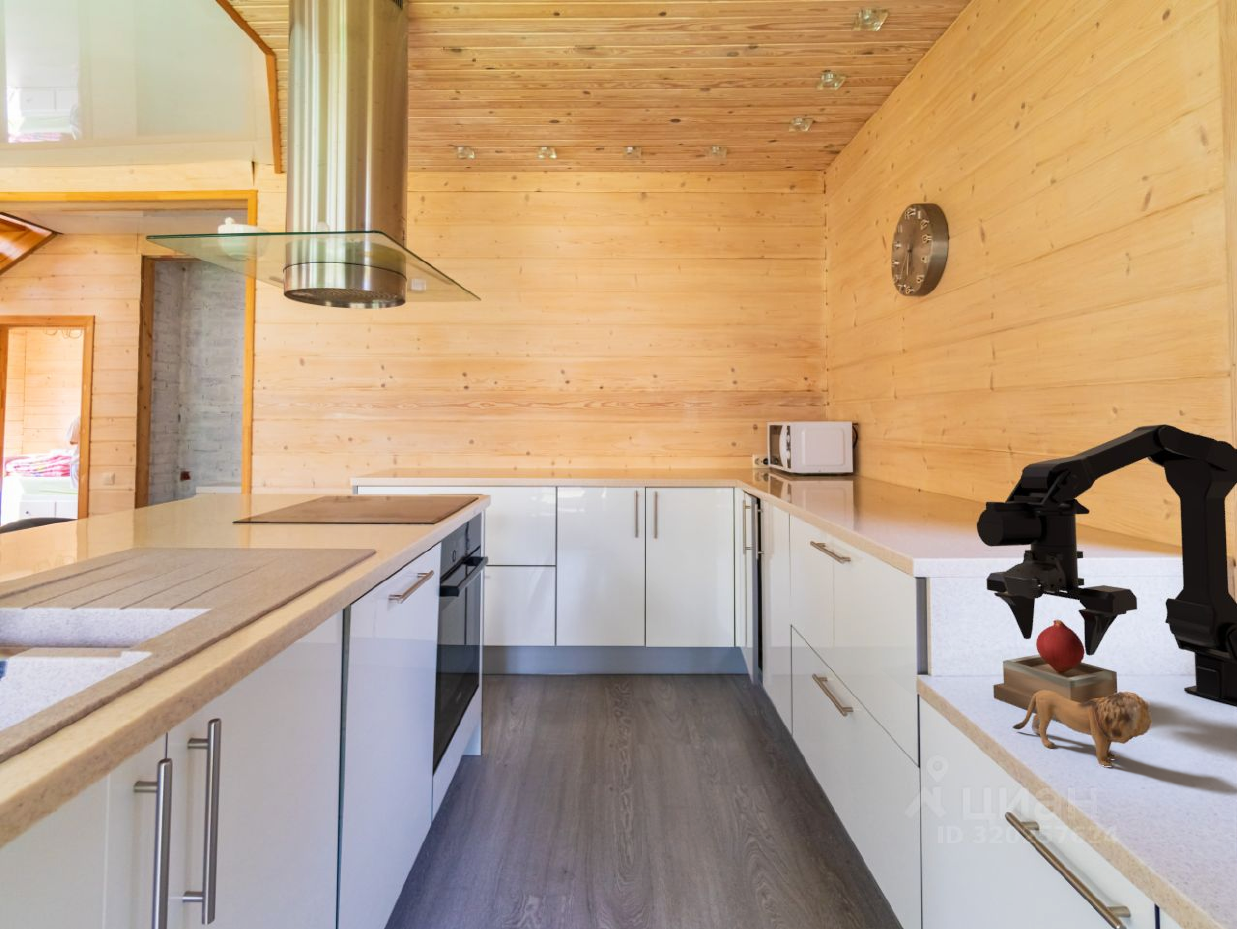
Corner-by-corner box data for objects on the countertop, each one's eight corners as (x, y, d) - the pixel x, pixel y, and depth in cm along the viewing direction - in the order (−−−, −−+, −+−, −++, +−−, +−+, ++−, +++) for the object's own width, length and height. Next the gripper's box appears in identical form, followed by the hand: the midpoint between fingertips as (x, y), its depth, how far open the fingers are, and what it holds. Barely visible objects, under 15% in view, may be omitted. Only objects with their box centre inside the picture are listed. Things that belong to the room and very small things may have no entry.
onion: (1054, 665, 93) (1054, 614, 93) (1094, 676, 87) (1093, 622, 87) (1027, 668, 91) (1027, 616, 91) (1066, 680, 85) (1065, 625, 86)
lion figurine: (1159, 767, 71) (1156, 692, 71) (1147, 781, 67) (1144, 703, 68) (1019, 726, 82) (1017, 662, 82) (1004, 737, 79) (1001, 670, 79)
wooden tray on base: (1046, 686, 97) (1045, 650, 97) (1130, 714, 85) (1128, 673, 85) (993, 697, 93) (992, 659, 93) (1074, 728, 81) (1072, 684, 81)
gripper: (960, 541, 96) (963, 637, 95) (1083, 555, 78) (1087, 672, 78) (1009, 537, 99) (1012, 629, 99) (1137, 549, 82) (1142, 661, 81)
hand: (1057, 646), depth 89 cm, fingers open, 9 cm apart
